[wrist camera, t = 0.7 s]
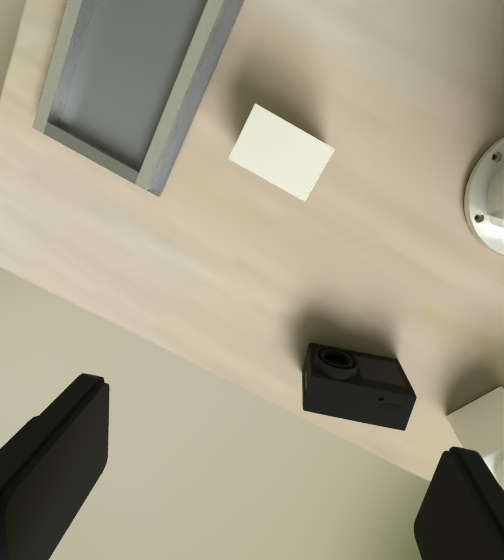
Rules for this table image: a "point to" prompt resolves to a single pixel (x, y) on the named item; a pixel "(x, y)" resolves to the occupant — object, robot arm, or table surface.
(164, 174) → the plate
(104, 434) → the robot arm
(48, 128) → the rail guides
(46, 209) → the table surface
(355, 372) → the digital camera
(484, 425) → the medicine bottle
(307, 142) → the block
